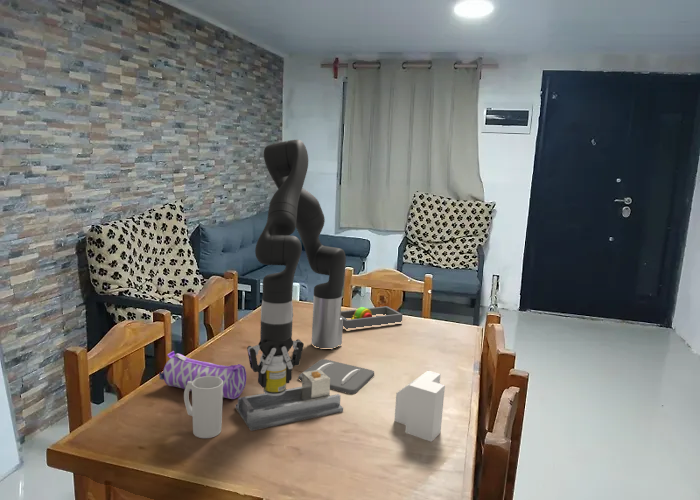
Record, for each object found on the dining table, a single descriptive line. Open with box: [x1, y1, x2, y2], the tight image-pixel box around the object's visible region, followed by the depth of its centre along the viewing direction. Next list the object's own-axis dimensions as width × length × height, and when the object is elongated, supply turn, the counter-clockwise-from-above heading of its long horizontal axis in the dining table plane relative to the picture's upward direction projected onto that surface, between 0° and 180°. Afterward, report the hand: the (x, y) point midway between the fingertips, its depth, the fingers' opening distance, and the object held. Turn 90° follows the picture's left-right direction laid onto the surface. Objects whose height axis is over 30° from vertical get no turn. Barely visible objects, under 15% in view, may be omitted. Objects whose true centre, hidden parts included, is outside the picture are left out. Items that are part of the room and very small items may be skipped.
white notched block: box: [394, 370, 446, 442], centre depth 131 cm, size 11×11×12 cm
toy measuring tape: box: [351, 306, 385, 319], centre depth 207 cm, size 6×20×7 cm, turn 133°
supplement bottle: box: [263, 355, 287, 396], centre depth 132 cm, size 5×5×10 cm
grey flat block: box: [297, 358, 375, 395], centre depth 156 cm, size 18×3×15 cm
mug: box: [183, 376, 224, 439], centre depth 123 cm, size 10×7×12 cm, turn 64°
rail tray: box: [235, 370, 344, 432], centre depth 135 cm, size 24×12×9 cm, turn 119°
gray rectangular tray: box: [341, 305, 403, 329], centre depth 205 cm, size 24×11×4 cm, turn 119°
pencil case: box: [158, 350, 247, 400], centre depth 143 cm, size 22×9×10 cm, turn 72°
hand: (274, 383), depth 133 cm, fingers closed on supplement bottle, 5 cm apart
